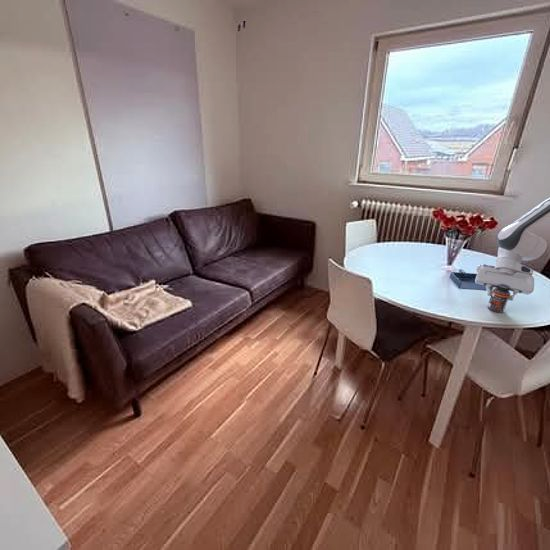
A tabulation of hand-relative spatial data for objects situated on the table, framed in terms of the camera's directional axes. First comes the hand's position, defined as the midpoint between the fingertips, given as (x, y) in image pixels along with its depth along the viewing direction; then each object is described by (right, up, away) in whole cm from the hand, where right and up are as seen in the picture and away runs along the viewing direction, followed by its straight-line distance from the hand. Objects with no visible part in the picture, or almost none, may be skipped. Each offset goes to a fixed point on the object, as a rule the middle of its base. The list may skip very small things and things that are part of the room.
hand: (499, 297), depth 129 cm
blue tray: (+4, +7, +29) cm, 30 cm away
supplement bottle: (0, -5, +3) cm, 6 cm away
